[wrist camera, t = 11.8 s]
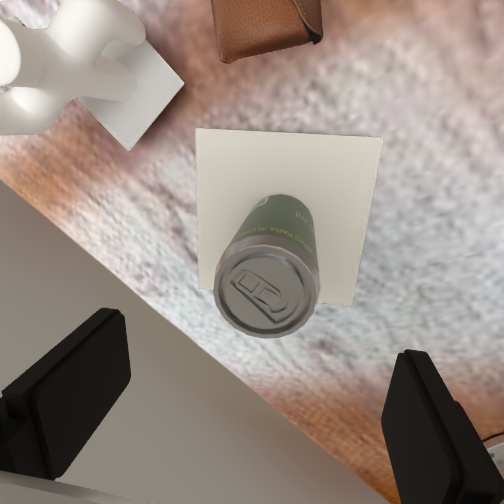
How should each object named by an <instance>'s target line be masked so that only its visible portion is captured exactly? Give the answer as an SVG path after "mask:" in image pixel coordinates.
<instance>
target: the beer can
mask: <svg viewBox="0 0 504 504" xmlns="http://www.w3.org/2000/svg"><path fill="white" fill-rule="evenodd" d="M320 289H321V288H320V278H319V268H318V260H317V251H316V242H315V233H314V225H313V218H312V216H311V214H310V211H309V209H308V208H307V207H306V206H305V205H304V204H303V203H302V202H301V201H299V200H298V199H296V198H294V197H292V196H288V195H282V194H279V195H272V196H268V197H266V198H264V199H262V200H260V201H259V202H258V203H257V204H256V205H255V206H254V207H253V208H252V210H251V211H250V213H249V215H248V216H247V218H246V219H245V221H244V222H243V224H242V225H241V227H240V228H239V230H238V231H237V233H236V234H235V236H234V237H233V239H232V240H231V242H230V243H229V245H228V246H227V248H226V249H225V251H224V252H223V254H222V256H221V258H220V260H219V262H218V264H217V266H216V269H215V278H214V288H213V293H214V298H215V302H216V306H217V308H218V309H219V311H220V313H221V314H222V316H223V318H224V319H225V320H226V321H228V322H229V323H230V324H231V325H232V326H233V327H234V328H235V329H237V330H239V331H241V332H243V333H245V334H247V335H250V336H254V337H259V338H279V337H282V336H285V335H289V334H292V333H294V332H295V331H296V330H298V329H299V328H300V327H302V326H303V325H305V323H306V322H307V320H308V319H309V318H310V316H311V315H312V313H313V311H314V307H315V305H316V304H317V300H318V297H319V293H320Z"/></svg>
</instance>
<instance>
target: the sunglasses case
mask: <svg viewBox="0 0 504 504" xmlns="http://www.w3.org/2000/svg"><path fill="white" fill-rule="evenodd" d="M211 3H212V10H213V16H214V25H215V32H216V39H217V46H218V50H219V56H220V60H221V61H222V62H224V63H228V64H230V63H232V62H233V61H236V60H238V59H241V58H245V57H250V56H255V55H259V54H263V53H267V52H273V51H277V50H281V49H286V48H289V47H290V48H291V47H294V46H299V45H302V44H306V43H308V42H310V41H313V44H314V45H315V44H317V43H318V42H320V41H321V39H322V38H323V30H322V18H321V5H320V0H211Z"/></svg>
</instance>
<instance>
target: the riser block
mask: <svg viewBox="0 0 504 504" xmlns="http://www.w3.org/2000/svg"><path fill="white" fill-rule="evenodd" d="M195 133H196V187H197V241H198V289H205V290H213V288H214V278H215V269H216V266H217V264H218V262H219V260H220V258H221V256H222V254H223V252H224V251H225V249H226V248H227V246H228V245H229V243H230V242H231V240H232V239H233V237H234V236H235V234H236V233H237V231H238V230H239V228H240V227H241V225H242V224H243V222H244V221H245V219H246V218H247V216H248V215H249V213H250V211H251V210H252V208H253V207H254V206H255V205H256V204H257V203H258V202H259V201H260V200H262V199H264V198H266V197H268V196H272V195H279V194H282V195H288V196H292V197H294V198H296V199H298V200H299V201H301V202H302V203H303V204H304V205H305V206H306V207H307V208H308V209H309V211H310V214H311V216H312V218H313V225H314V233H315V242H316V251H317V260H318V268H319V278H320V288H321V289H320V293H319V297H318V300H317V303H325V304H334V305H343V306H351V307H352V303H353V298H354V293H355V287H356V282H357V277H358V271H359V266H360V261H361V256H362V250H363V245H364V240H365V235H366V229H367V224H368V219H369V214H370V208H371V203H372V198H373V192H374V187H375V182H376V177H377V171H378V166H379V161H380V156H381V150H382V145H383V140H384V138H381V137H366V136H346V135H327V134H307V133H288V132H268V131H249V130H229V129H209V128H195Z"/></svg>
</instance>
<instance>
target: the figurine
mask: <svg viewBox="0 0 504 504" xmlns="http://www.w3.org/2000/svg"><path fill="white" fill-rule="evenodd" d="M145 38H146V31H145V28H144V25H143V23H142V22H141V20H140V19H139V18H138V16H137V15H136V14H135V13H134V12H133V11H131V10H130V9H129V8H127V7H126V6H125V5H123V4H122V3H120V2H119V1H117V0H63V1H62V3H61V5H60V6H59V8H58V10H57V12H56V13H55V15H54V17H53V19H52V20H51V22H50V24H49V25H48V27H47V28H45V29H39V30H38V29H31V28H28V27H26V26H25V25H24V24H23V23H22V22H21V21H20V20H19V19H18V18H17V17H15V16H10V17H8V18H6V19H5V18H3V17H2V16H0V86H8V87H13V88H12V89H11V90H9V91H7V92H5V93H0V135H34V134H40V133H43V132H45V131H47V130H49V129H50V128H51V127H52V126H53V124H54V123H55V122H56V120H57V119H58V117H59V116H60V114H61V113H62V111H63V110H64V108H65V107H66V105H67V104H68V103H69V102H70V101H71V100H73V99H74V98H77V99H78V100H79V101H80V102H81V103H82V104H83V105H84V106H85V107H86V108H87V110H88V111H89V112H90V113H91V114H92V115H93V116H94V117H95V118H96V119H97V120H98V121H99V122H100V123H101V124H102V125H103V126H104V127H105V128H106V129H107V130H108V131H109V132H110V133H111V134H112V135H113V136H114V137H115V138H116V139H117V141H118V142H119V143H120V144H121V145H122V146H123V147H124V148H125V149H126V150H127V151H128V152H129V151H130V150H131V148H132V147H133V146H134V145H135V144H136V142H137V141H138V140H139V139H140V137H141V136H142V135H143V134H144V132H145V131H146V130H147V129H148V128H149V126H150V125H151V124H152V123H153V121H154V120H155V119H156V118H157V117H158V115H159V114H160V113H161V112H162V110H163V109H164V108H165V107H166V106H167V104H168V103H169V102H170V101H171V99H172V98H173V97H174V96H175V94H176V93H177V92H178V91H179V90H180V88H181V87H182V86H183V85H184V82H183V81H182V80H181V79H180V77H179V76H178V75H177V74H176V73H175V72H174V71H173V70H172V68H171V67H170V66H169V65H168V64H167V63H166V62H165V61H164V59H163V58H162V57H161V56H160V55H159V54H158V53H157V51H156V50H155V49H154V48H153V47H152V46H151V45H150V44H149V42H148V41H147V40H146V39H145Z"/></svg>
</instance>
